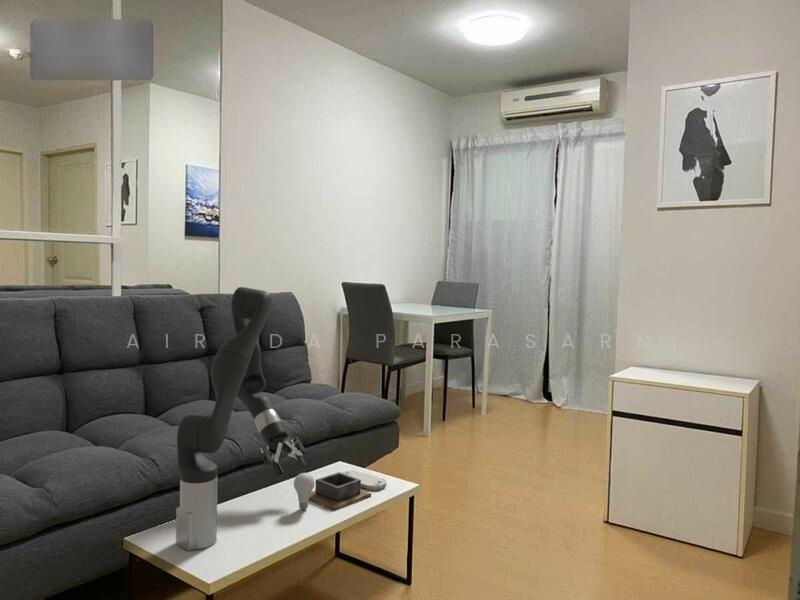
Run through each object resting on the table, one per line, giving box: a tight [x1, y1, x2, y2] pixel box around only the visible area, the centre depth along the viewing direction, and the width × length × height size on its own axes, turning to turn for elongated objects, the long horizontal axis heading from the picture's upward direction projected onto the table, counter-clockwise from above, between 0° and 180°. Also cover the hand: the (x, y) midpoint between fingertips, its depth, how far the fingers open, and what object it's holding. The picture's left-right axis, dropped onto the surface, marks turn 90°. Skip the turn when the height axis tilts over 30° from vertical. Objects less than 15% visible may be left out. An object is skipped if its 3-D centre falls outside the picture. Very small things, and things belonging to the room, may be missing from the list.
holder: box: [309, 472, 372, 511], centre depth 192 cm, size 16×14×6 cm
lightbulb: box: [293, 472, 316, 510], centre depth 182 cm, size 6×6×11 cm
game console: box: [340, 470, 387, 491], centre depth 206 cm, size 18×2×8 cm
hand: (293, 471), depth 185 cm, fingers open, 8 cm apart
